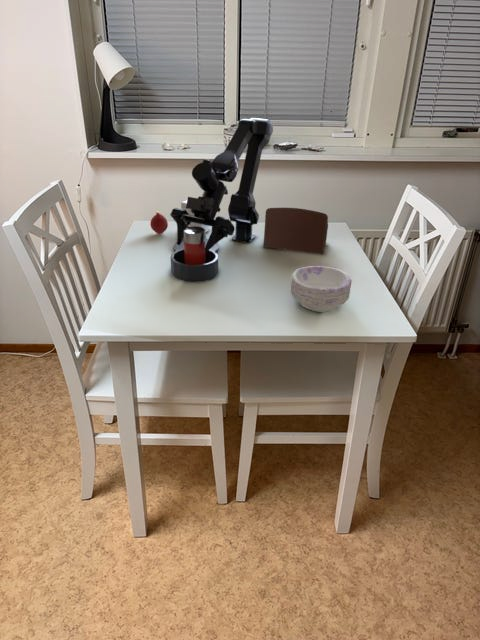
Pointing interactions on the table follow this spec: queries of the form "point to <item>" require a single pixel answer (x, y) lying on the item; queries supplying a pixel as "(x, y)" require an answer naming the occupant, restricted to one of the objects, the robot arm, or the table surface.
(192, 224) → the small box
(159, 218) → the onion
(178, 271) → the pot
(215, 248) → the lid
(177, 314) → the table surface
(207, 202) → the robot arm
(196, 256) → the cylinder
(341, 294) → the paper bowls
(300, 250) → the letter holder
